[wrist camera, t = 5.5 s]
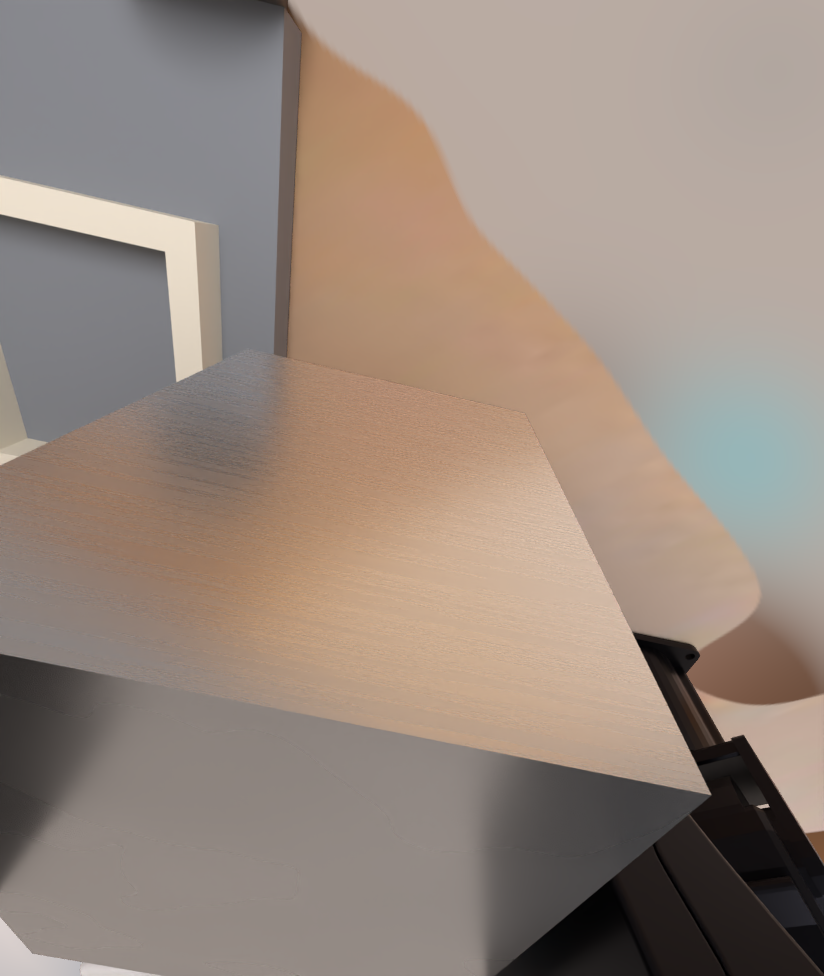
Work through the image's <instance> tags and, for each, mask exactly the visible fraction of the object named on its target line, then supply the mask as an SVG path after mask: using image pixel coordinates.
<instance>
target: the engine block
mask: <svg viewBox="0 0 824 976" xmlns="http://www.w3.org/2000/svg"><path fill="white" fill-rule="evenodd" d="M710 796H711V793H710V791H709V789H708V787H707V785H706V783H705V781H704V779H703V777H702V775H701V773H700V771H699V769H698V766H697V764H696V762H695V760H694V758H693V756H692V754H691V752H690V750H689V748H688V746H687V744H686V742H685V740H684V738H683V736H682V734H681V732H680V730H679V728H678V726H677V723H676V721H675V719H674V717H673V715H672V713H671V711H670V709H669V707H668V705H667V703H666V701H665V699H664V697H663V695H662V693H661V691H660V689H659V687H658V685H657V682H656V680H655V678H654V676H653V674H652V672H651V670H650V668H649V666H648V664H647V662H646V660H645V658H644V656H643V654H642V652H641V650H640V648H639V646H638V644H637V642H636V639H635V637H634V635H633V633H632V631H631V629H630V627H629V625H628V623H627V621H626V619H625V617H624V615H623V613H622V611H621V609H620V607H619V605H618V603H617V601H616V599H615V596H614V594H613V592H612V590H611V588H610V586H609V584H608V582H607V580H606V578H605V576H604V574H603V572H602V570H601V568H600V566H599V564H598V562H597V560H596V558H595V555H594V553H593V551H592V549H591V547H590V545H589V543H588V541H587V539H586V537H585V535H584V533H583V531H582V529H581V527H580V525H579V523H578V521H577V519H576V517H575V515H574V512H573V510H572V508H571V506H570V504H569V502H568V500H567V498H566V496H565V494H564V492H563V490H562V488H561V486H560V484H559V482H558V480H557V478H556V476H555V474H554V472H553V469H552V467H551V465H550V463H549V461H548V459H547V457H546V455H545V453H544V451H543V449H542V447H541V445H540V443H539V441H538V439H537V437H536V435H535V433H534V431H533V428H532V426H531V424H530V422H529V420H528V418H527V416H526V414H525V413H522V412H518V411H514V410H509V409H505V408H501V407H497V406H492V405H488V404H484V403H479V402H475V401H471V400H467V399H462V398H458V397H454V396H449V395H445V394H441V393H436V392H432V391H428V390H424V389H419V388H415V387H411V386H406V385H402V384H398V383H393V382H389V381H385V380H381V379H376V378H372V377H368V376H363V375H359V374H355V373H350V372H346V371H342V370H338V369H333V368H329V367H325V366H320V365H316V364H312V363H307V362H303V361H299V360H295V359H290V358H286V357H282V356H277V355H273V354H269V353H264V352H260V351H256V350H252V349H246V350H244V351H242V352H240V353H238V354H236V355H233V356H231V357H229V358H227V359H225V360H223V361H221V362H219V363H216V364H214V365H212V366H210V367H208V368H206V369H204V370H202V371H199V372H197V373H195V374H193V375H191V376H189V377H187V378H185V379H182V380H180V381H178V382H176V383H174V384H172V385H170V386H168V387H165V388H163V389H161V390H159V391H157V392H155V393H153V394H151V395H148V396H146V397H144V398H142V399H140V400H138V401H136V402H134V403H131V404H129V405H127V406H125V407H123V408H121V409H119V410H117V411H114V412H112V413H110V414H108V415H106V416H104V417H102V418H100V419H97V420H95V421H93V422H91V423H89V424H87V425H85V426H83V427H80V428H78V429H76V430H74V431H72V432H70V433H68V434H66V435H63V436H61V437H59V438H57V439H55V440H53V441H51V442H49V443H46V444H44V445H42V446H40V447H38V448H36V449H34V450H32V451H29V452H27V453H25V454H23V455H21V456H19V457H17V458H15V459H13V460H10V461H8V462H6V463H4V464H2V465H0V917H1V918H2V920H3V921H4V922H5V923H6V924H7V925H8V926H9V927H10V928H11V930H12V931H13V932H14V933H15V934H16V935H17V936H18V938H19V939H20V940H21V941H22V942H23V943H24V944H25V945H26V947H27V948H28V949H29V950H30V951H31V952H32V953H33V954H38V955H45V956H50V957H57V958H62V959H68V960H74V961H80V962H85V963H91V964H97V965H103V966H108V967H114V968H120V969H126V970H132V971H137V972H143V973H149V974H155V975H161V976H495V975H496V974H498V973H499V972H500V971H501V970H502V969H504V968H505V967H506V966H507V965H508V964H510V963H511V962H512V961H513V960H514V959H516V958H517V957H518V956H519V955H520V954H522V953H523V952H524V951H525V950H526V949H528V948H529V947H530V946H531V945H532V944H534V943H535V942H536V941H537V940H538V939H540V938H541V937H542V936H543V935H544V934H546V933H547V932H548V931H549V930H550V929H552V928H553V927H554V926H555V925H556V924H558V923H559V922H560V921H561V920H562V919H564V918H565V917H566V916H567V915H568V914H570V913H571V912H572V911H573V910H574V909H576V908H577V907H578V906H579V905H580V904H582V903H583V902H584V901H585V900H586V899H588V898H589V897H590V896H591V895H592V894H594V893H595V892H596V891H597V890H598V889H600V888H601V887H602V886H603V885H604V884H606V883H607V882H608V881H609V880H610V879H612V878H613V877H614V876H615V875H616V874H618V873H619V872H620V871H621V870H622V869H624V868H625V867H626V866H627V865H628V864H630V863H631V862H632V861H633V860H634V859H636V858H637V857H638V856H639V855H640V854H642V853H643V852H644V851H645V850H646V849H648V848H649V847H650V846H651V845H652V844H654V843H655V842H656V841H657V840H658V839H660V838H661V837H662V836H663V835H664V834H666V833H667V832H668V831H669V830H670V829H672V828H673V827H674V826H675V825H676V824H678V823H679V822H680V821H681V820H682V819H684V818H685V817H686V816H687V815H688V814H690V813H691V812H692V811H693V810H694V809H696V808H697V807H698V806H699V805H700V804H702V803H703V802H704V801H705V800H706V799H708V798H709V797H710Z"/></svg>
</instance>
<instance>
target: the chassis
mask: <svg viewBox="0 0 824 976" xmlns="http://www.w3.org/2000/svg"><path fill="white" fill-rule="evenodd" d="M287 8H288V0H0V465H2V464H4V463H6V462H8V461H10V460H13V459H15V458H17V457H19V456H21V455H23V454H25V453H27V452H29V451H32V450H34V449H36V448H38V447H40V446H42V445H44V444H46V443H49V442H51V441H53V440H55V439H57V438H59V437H61V436H63V435H66V434H68V433H70V432H72V431H74V430H76V429H78V428H80V427H83V426H85V425H87V424H89V423H91V422H93V421H95V420H97V419H100V418H102V417H104V416H106V415H108V414H110V413H112V412H114V411H117V410H119V409H121V408H123V407H125V406H127V405H129V404H131V403H134V402H136V401H138V400H140V399H142V398H144V397H146V396H148V395H151V394H153V393H155V392H157V391H159V390H161V389H163V388H165V387H168V386H170V385H172V384H174V383H176V382H178V381H180V380H182V379H185V378H187V377H189V376H191V375H193V374H195V373H197V372H199V371H202V370H204V369H206V368H208V367H210V366H212V365H214V364H216V363H219V362H221V361H223V360H225V359H227V358H229V357H231V356H233V355H236V354H238V353H240V352H242V351H244V350H246V349H252V350H256V351H260V352H264V353H269V354H273V355H277V356H282V357H286V358H287V336H288V315H289V293H290V272H291V250H292V229H293V208H294V186H295V165H296V143H297V122H298V100H299V79H300V57H301V36H302V33H301V32H300V30H299V28H298V27H297V25H296V24H295V22H294V21H293V19H292V18H291V16H290V15H289V13H288V12H287Z"/></svg>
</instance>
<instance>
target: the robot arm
mask: <svg viewBox="0 0 824 976" xmlns="http://www.w3.org/2000/svg"><path fill="white" fill-rule="evenodd" d="M633 635H634V637H635V639H636V642H637V644H638V646H639V648H640V650H641V652H642V654H643V656H644V658H645V660H646V662H647V664H648V666H649V668H650V670H651V672H652V674H653V676H654V678H655V680H656V682H657V685H658V687H659V689H660V691H661V693H662V695H663V697H664V699H665V701H666V703H667V705H668V707H669V709H670V711H671V713H672V715H673V717H674V719H675V721H676V723H677V726H678V728H679V730H680V732H681V734H682V736H683V738H684V740H685V742H686V744H687V746H688V748H689V750H690V752H691V754H692V756H693V758H694V760H695V762H696V764H697V766H698V769H699V771H700V773H701V775H702V777H703V779H704V781H705V783H706V785H707V787H708V789H709V791H710V793H711V796H710V797H709V798H708V799H706V800H705V801H704V802H703V803H702V804H700V805H699V806H698V807H697V808H696V809H694V810H693V811H692V812H691V813H690V814H688V815H687V816H686V817H685V818H684V819H682V820H681V821H680V822H679V823H678V824H676V825H675V826H674V827H673V828H672V829H670V830H669V831H668V832H667V833H666V834H664V835H663V836H662V837H661V838H660V839H658V840H657V841H656V842H655V843H654V844H652V845H651V846H650V847H649V848H648V849H646V850H645V851H644V852H643V853H642V854H640V855H639V856H638V857H637V858H636V859H634V860H633V861H632V862H631V863H630V864H628V865H627V866H626V867H625V868H624V869H622V870H621V871H620V872H619V873H618V874H616V875H615V876H614V877H613V878H612V879H610V880H609V881H608V882H607V883H606V884H604V885H603V886H602V887H601V888H600V889H598V890H597V891H596V892H595V893H594V894H592V895H591V896H590V897H589V898H588V899H586V900H585V901H584V902H583V903H582V904H580V905H579V906H578V907H577V908H576V909H574V910H573V911H572V912H571V913H570V914H568V915H567V916H566V917H565V918H564V919H562V920H561V921H560V922H559V923H558V924H556V925H555V926H554V927H553V928H552V929H550V930H549V931H548V932H547V933H546V934H544V935H543V936H542V937H541V938H540V939H538V940H537V941H536V942H535V943H534V944H532V945H531V946H530V947H529V948H528V949H526V950H525V951H524V952H523V953H522V954H520V955H519V956H518V957H517V958H516V959H514V960H513V961H512V962H511V963H510V964H508V965H507V966H506V967H505V968H504V969H502V970H501V971H500V972H499V973H498V974H496V975H495V976H824V863H823V862H822V860H821V859H820V857H819V855H818V854H817V852H816V850H815V849H814V847H813V845H812V844H811V842H810V841H809V839H808V837H807V836H806V834H805V832H804V831H803V829H802V828H801V826H800V824H799V823H798V821H797V819H796V818H795V816H794V815H793V813H792V811H791V810H790V808H789V807H788V805H787V803H786V802H785V800H784V798H783V797H782V795H781V794H780V792H779V790H778V789H777V787H776V786H775V784H774V782H773V781H772V779H771V778H770V776H769V774H768V773H767V771H766V770H765V768H764V767H763V765H762V763H761V762H760V760H759V759H758V757H757V755H756V754H755V752H754V751H753V749H752V747H751V746H750V744H749V743H748V741H747V740H746V738H745V736H744V735H741V736H737V737H733V738H731V740H732V741H728V742H725V741H724V740H723V738H722V736H721V734H720V733H719V731H718V729H717V727H716V726H715V724H714V722H713V720H712V719H711V717H710V715H709V713H708V712H707V710H706V708H705V706H704V704H703V703H702V701H701V699H700V697H699V696H698V694H697V692H696V690H695V689H694V687H693V685H692V683H691V682H690V680H689V678H688V676H687V675H686V673H687V672H688V670H689V669H690V668H691V667H692V666H693V665H694V663H695V662H696V661H697V660H698V658H699V657H700V654H699V652H698V651H697V649H696V648H695V647H694V646H692V645H689V644H684V643H679V642H674V641H669V640H664V639H660V638H655V637H650V636H645V635H640V634H636V633H633ZM764 804H769V806H770V807H768V808H763V809H760V808H758V807H756V806H759V805H764Z"/></svg>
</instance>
